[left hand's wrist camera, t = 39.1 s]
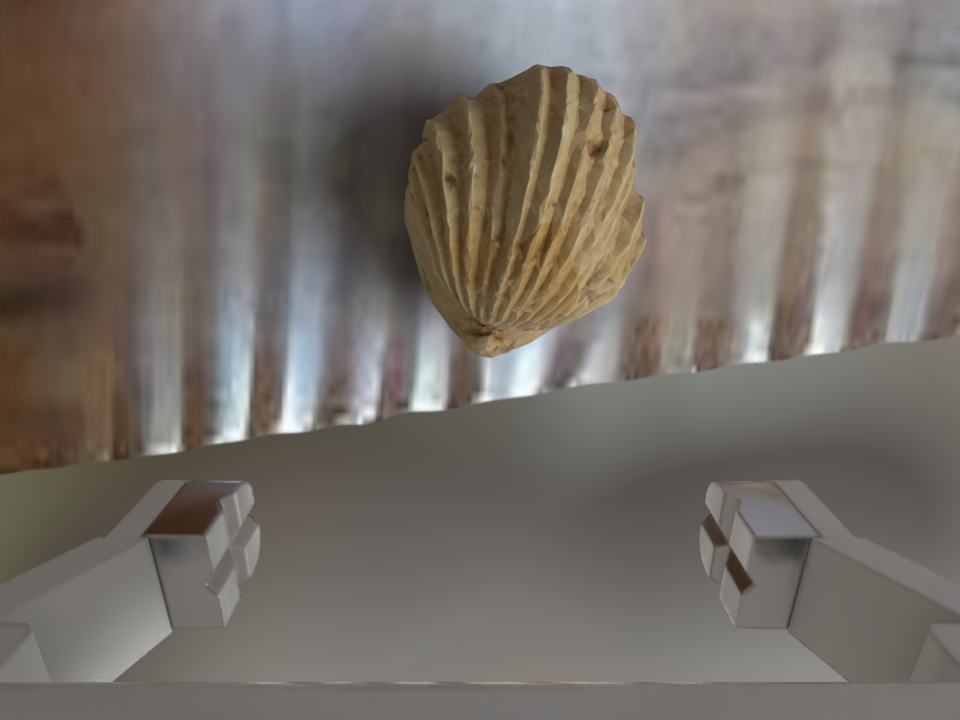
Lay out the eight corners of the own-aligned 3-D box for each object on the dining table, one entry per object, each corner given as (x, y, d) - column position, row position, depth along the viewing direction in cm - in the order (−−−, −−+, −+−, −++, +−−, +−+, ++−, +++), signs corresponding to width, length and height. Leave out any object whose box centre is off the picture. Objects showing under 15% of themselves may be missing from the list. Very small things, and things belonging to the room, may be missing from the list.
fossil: (382, 290, 44) (336, 366, 30) (445, 41, 38) (424, -7, 24) (570, 345, 46) (609, 442, 32) (660, 116, 39) (757, 112, 26)
